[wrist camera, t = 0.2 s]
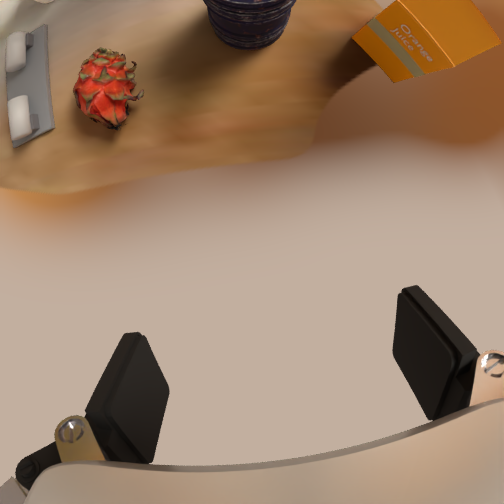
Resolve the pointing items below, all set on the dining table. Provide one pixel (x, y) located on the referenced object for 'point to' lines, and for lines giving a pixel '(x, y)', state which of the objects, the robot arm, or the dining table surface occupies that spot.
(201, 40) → the dining table surface
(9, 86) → the shaft bed
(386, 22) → the orange juice
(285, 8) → the storage jar
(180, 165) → the dining table surface
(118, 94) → the dragon fruit
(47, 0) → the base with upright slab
